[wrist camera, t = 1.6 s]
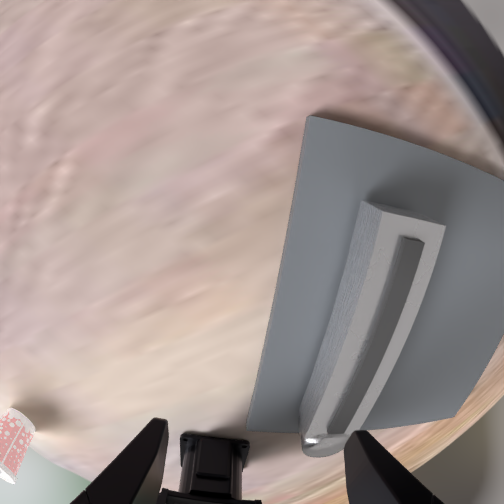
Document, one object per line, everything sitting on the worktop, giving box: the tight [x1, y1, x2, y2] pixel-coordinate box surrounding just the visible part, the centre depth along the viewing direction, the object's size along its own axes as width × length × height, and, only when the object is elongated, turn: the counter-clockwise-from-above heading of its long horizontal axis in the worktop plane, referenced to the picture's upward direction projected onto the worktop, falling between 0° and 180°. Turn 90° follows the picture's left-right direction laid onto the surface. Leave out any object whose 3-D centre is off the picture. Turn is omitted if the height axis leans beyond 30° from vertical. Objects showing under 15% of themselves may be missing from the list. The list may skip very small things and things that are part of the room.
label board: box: [246, 116, 504, 433], centre depth 20 cm, size 24×23×1 cm
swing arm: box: [298, 200, 446, 457], centre depth 18 cm, size 19×4×3 cm, turn 172°
